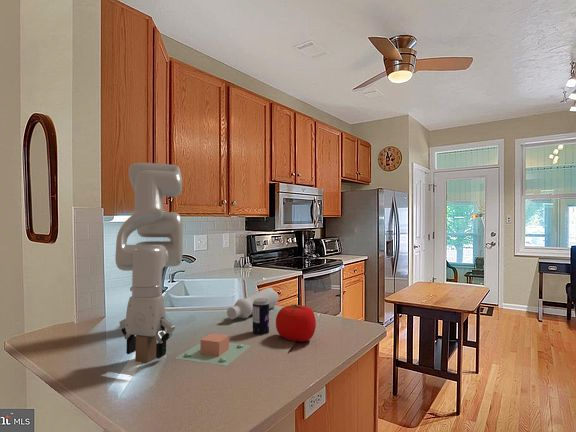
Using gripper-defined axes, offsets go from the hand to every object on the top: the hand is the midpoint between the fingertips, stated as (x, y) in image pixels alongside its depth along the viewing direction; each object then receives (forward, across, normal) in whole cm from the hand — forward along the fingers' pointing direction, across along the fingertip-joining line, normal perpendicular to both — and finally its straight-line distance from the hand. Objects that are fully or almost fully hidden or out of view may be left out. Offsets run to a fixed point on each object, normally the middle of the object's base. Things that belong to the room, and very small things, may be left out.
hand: (146, 354), depth 93 cm
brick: (+1, +15, +11) cm, 19 cm away
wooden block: (+2, 0, 0) cm, 2 cm away
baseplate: (+2, +15, +11) cm, 19 cm away
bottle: (+3, +7, +57) cm, 58 cm away
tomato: (+3, +34, +31) cm, 46 cm away
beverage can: (+2, +21, +32) cm, 38 cm away
